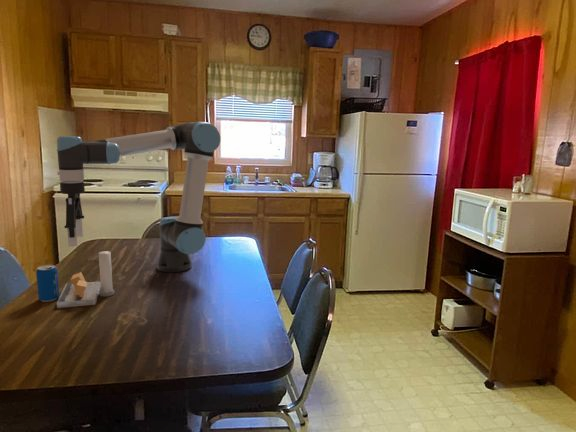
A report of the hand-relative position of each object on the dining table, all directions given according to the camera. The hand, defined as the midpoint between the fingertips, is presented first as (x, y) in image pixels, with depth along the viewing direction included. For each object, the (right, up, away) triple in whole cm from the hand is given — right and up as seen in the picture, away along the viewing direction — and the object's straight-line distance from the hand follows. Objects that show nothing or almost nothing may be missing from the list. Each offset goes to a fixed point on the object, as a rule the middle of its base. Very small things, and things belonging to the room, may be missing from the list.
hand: (76, 241), depth 148 cm
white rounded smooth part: (+8, -20, +7) cm, 23 cm away
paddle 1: (-2, -18, +8) cm, 19 cm away
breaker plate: (-1, -20, +4) cm, 21 cm away
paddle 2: (+1, -19, 0) cm, 19 cm away
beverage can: (-10, -21, +1) cm, 23 cm away
